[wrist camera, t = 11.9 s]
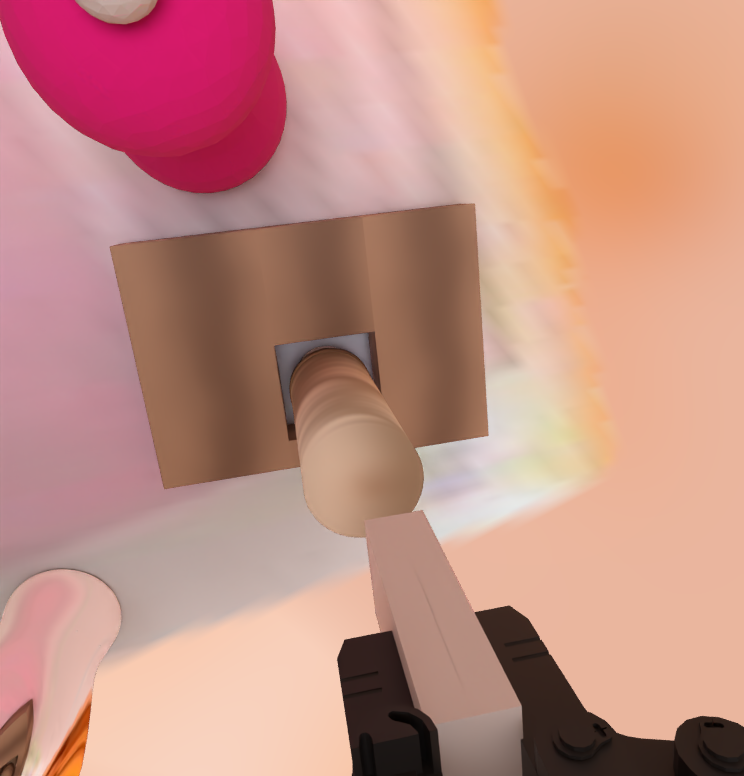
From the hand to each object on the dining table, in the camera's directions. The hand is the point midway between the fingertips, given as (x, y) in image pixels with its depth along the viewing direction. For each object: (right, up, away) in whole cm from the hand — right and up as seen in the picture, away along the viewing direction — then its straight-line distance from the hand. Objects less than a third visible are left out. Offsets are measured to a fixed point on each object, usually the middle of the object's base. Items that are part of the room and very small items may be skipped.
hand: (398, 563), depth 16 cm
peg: (-3, +5, +18) cm, 19 cm away
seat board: (-4, +7, +17) cm, 19 cm away
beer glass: (-18, -8, +20) cm, 28 cm away
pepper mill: (-9, +17, +14) cm, 24 cm away
